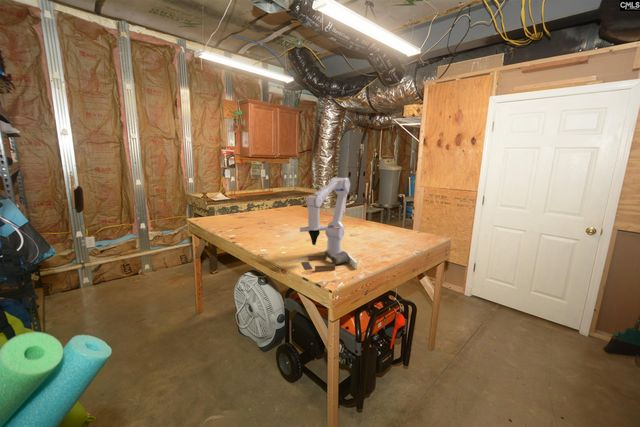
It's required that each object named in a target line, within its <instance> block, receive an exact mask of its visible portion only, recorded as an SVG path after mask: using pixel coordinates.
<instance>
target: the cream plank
mask: <svg viewBox="0 0 640 427" xmlns="http://www.w3.org/2000/svg"><path fill="white" fill-rule="evenodd" d="M342 251H345V252H346V253H347V254H348V255H349V258H350V261H349V262H348V264H350V266H352V267H353V269H354V270H358V261H357V260H355V258H354V257H353V256H351V255H350V254H349V253H348V252H347V251H346V250H345V249H343V250H342Z"/></svg>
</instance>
